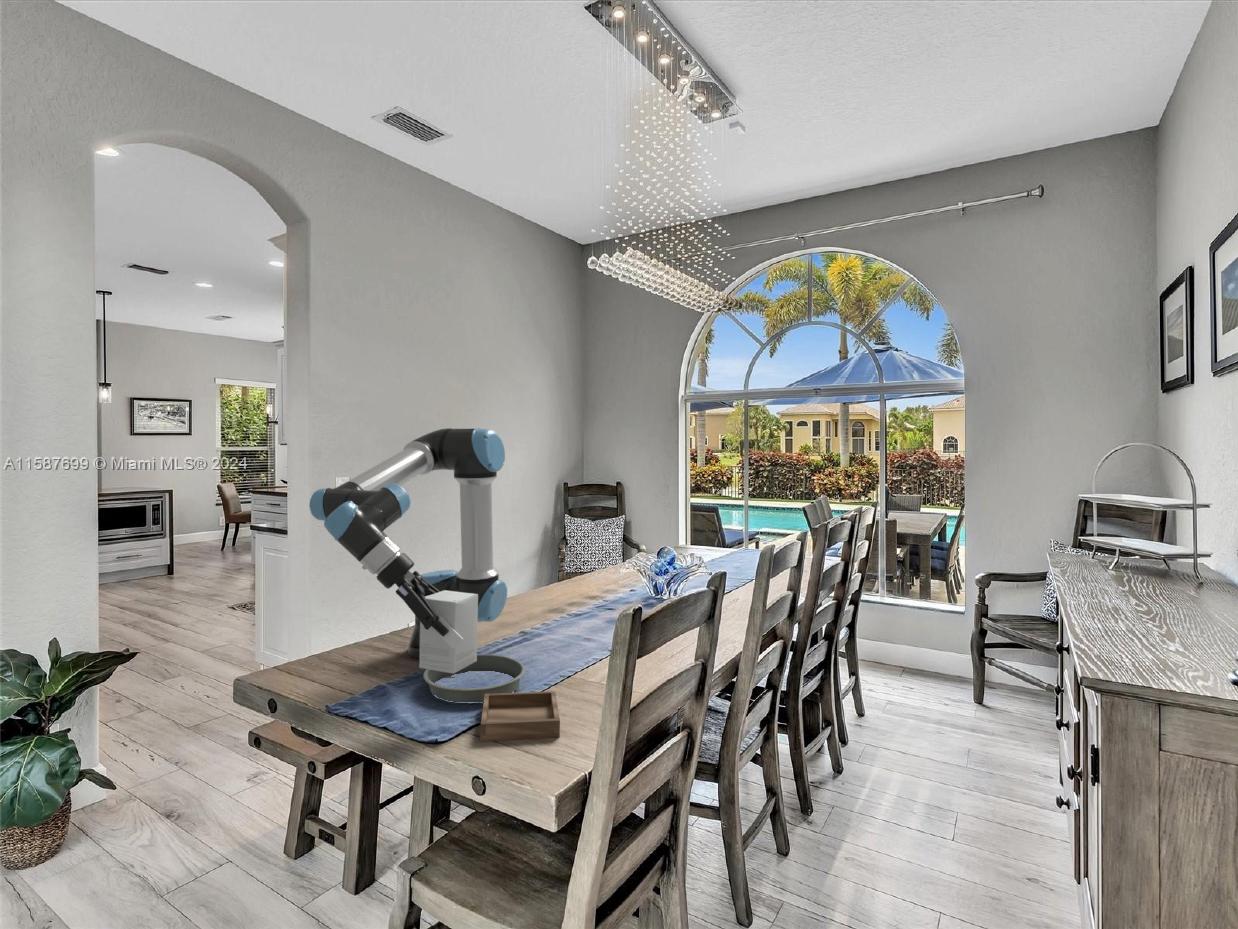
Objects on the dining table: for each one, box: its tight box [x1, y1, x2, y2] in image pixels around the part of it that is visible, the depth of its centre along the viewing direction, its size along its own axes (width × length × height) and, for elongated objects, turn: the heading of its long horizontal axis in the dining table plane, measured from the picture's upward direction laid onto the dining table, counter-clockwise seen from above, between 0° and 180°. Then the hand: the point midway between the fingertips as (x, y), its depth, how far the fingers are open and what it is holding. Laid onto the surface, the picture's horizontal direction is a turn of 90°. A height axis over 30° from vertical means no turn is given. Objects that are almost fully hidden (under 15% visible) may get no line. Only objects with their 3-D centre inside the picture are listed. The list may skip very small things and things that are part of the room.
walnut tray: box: [480, 690, 561, 742], centre depth 138 cm, size 16×16×4 cm
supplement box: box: [418, 590, 479, 674], centre depth 136 cm, size 9×9×15 cm
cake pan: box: [422, 653, 526, 702], centre depth 158 cm, size 25×25×4 cm
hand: (461, 635), depth 136 cm, fingers closed on supplement box, 12 cm apart
